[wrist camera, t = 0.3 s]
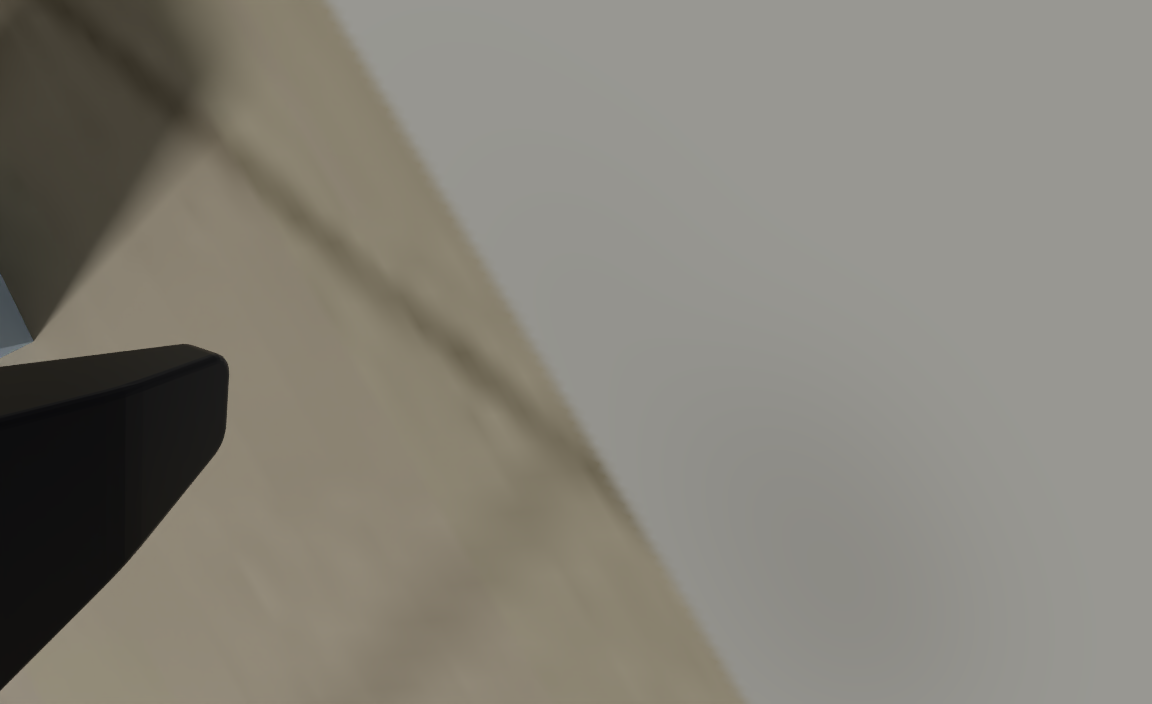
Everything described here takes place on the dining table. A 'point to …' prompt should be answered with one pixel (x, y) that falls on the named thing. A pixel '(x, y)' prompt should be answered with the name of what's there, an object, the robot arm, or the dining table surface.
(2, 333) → the pillar block
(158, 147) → the dining table surface
